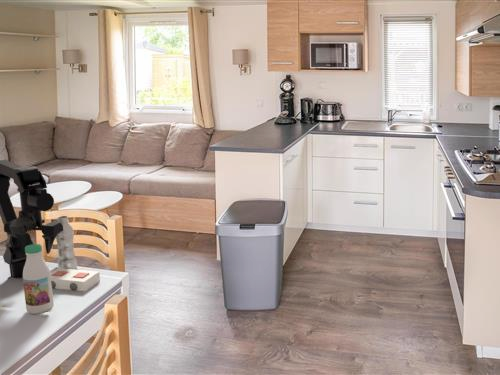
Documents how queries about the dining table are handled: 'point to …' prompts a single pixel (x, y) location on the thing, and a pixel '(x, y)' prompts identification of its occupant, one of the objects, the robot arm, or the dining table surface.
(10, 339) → the dining table surface
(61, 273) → the inner button
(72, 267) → the plastic bottle
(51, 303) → the milk bottle
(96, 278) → the switch panel
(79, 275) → the outer button
